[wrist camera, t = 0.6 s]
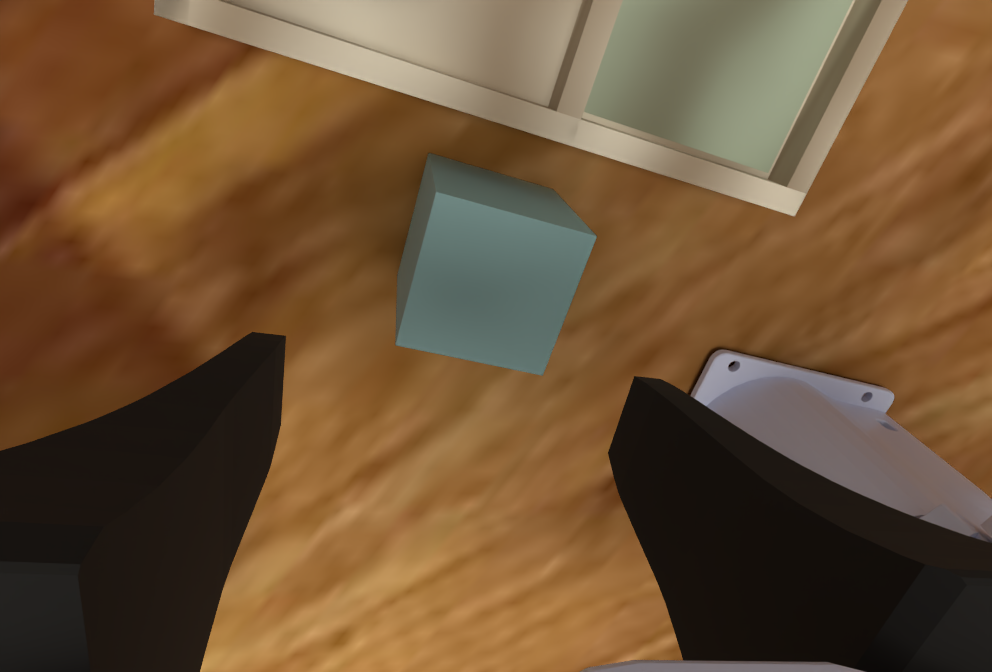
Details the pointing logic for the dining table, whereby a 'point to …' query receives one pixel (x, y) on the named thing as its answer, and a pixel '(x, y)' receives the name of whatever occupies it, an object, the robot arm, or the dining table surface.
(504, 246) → the teal block
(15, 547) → the robot arm
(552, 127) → the birch organizer
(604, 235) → the dining table surface
